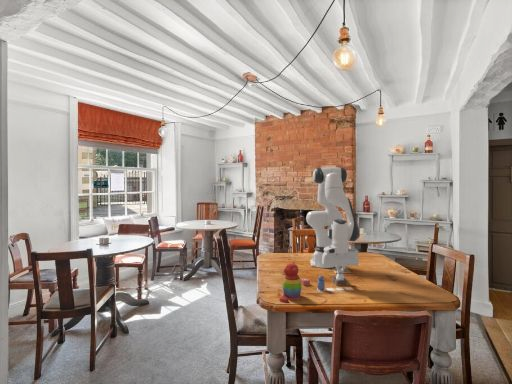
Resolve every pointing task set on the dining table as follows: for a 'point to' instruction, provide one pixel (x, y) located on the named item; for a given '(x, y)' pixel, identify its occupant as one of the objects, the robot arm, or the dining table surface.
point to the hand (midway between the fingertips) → (340, 273)
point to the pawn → (321, 283)
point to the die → (305, 282)
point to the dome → (339, 277)
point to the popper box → (340, 281)
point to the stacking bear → (291, 283)
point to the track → (336, 289)
